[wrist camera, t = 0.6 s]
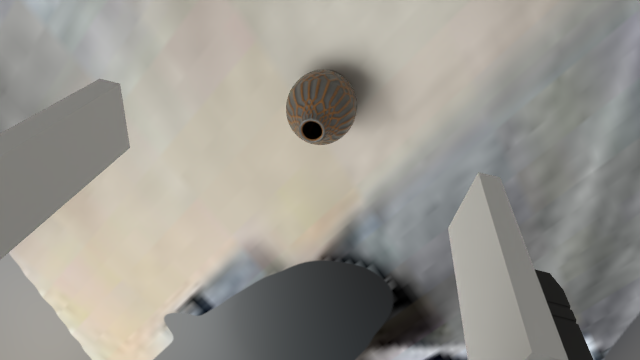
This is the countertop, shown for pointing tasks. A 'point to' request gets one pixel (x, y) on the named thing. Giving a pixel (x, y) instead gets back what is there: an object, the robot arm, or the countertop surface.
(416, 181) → the countertop surface
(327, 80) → the vase
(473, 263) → the robot arm
